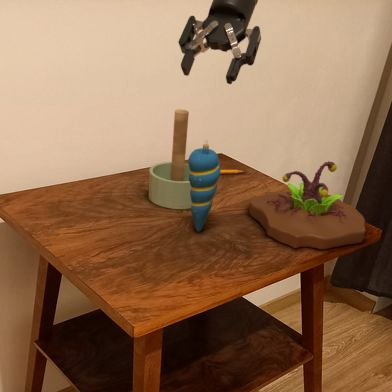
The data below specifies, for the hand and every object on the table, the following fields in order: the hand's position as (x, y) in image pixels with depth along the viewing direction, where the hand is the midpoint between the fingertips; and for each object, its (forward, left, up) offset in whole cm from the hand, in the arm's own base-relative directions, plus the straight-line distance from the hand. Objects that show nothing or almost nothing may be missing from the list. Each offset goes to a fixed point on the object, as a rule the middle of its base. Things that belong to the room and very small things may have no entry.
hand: (206, 76), depth 97 cm
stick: (-2, -9, -19) cm, 21 cm away
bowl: (-2, -9, -20) cm, 22 cm away
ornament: (+5, -21, -20) cm, 30 cm away
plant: (+23, -10, -20) cm, 32 cm away
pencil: (0, +6, -19) cm, 20 cm away
